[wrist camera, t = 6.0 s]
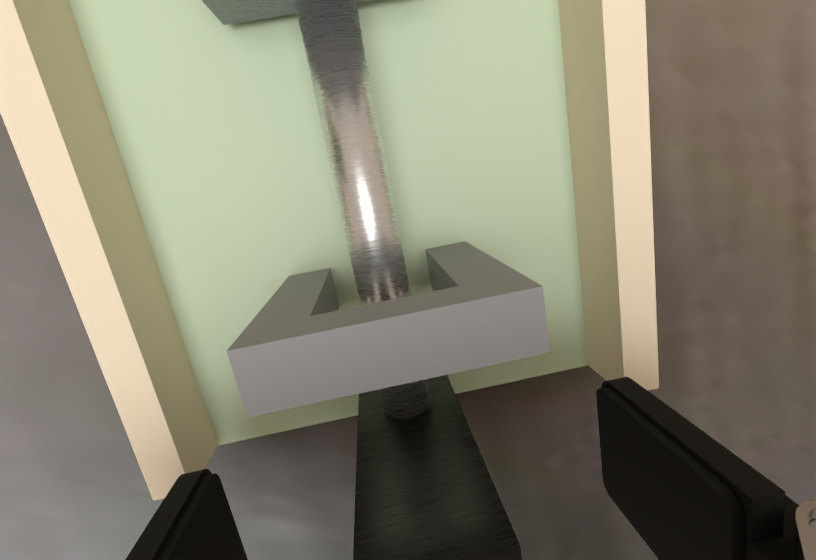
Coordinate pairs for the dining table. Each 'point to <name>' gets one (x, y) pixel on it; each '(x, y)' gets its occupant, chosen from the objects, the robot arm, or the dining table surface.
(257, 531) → the dining table surface
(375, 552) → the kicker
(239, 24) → the pitch
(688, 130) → the dining table surface
